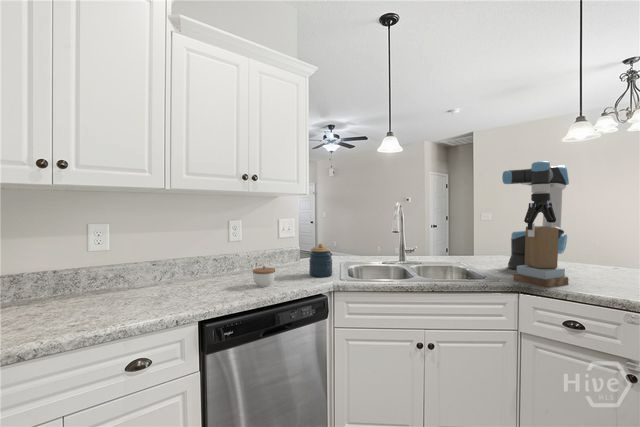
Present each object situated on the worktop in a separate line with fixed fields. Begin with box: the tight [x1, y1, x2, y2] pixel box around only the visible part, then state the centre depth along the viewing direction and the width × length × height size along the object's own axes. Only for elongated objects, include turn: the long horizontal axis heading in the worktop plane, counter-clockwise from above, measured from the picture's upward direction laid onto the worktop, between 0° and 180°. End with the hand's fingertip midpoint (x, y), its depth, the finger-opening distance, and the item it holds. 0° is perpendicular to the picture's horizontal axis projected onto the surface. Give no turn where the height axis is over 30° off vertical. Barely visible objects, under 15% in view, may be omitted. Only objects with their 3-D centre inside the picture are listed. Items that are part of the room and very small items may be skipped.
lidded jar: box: [252, 265, 276, 288], centre depth 148 cm, size 11×11×9 cm
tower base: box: [512, 272, 569, 288], centre depth 152 cm, size 16×16×4 cm
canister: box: [308, 243, 333, 278], centre depth 171 cm, size 13×13×18 cm
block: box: [525, 225, 559, 269], centre depth 152 cm, size 10×10×20 cm
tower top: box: [516, 265, 566, 279], centre depth 152 cm, size 14×14×4 cm
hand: (540, 236), depth 152 cm, fingers open, 13 cm apart
